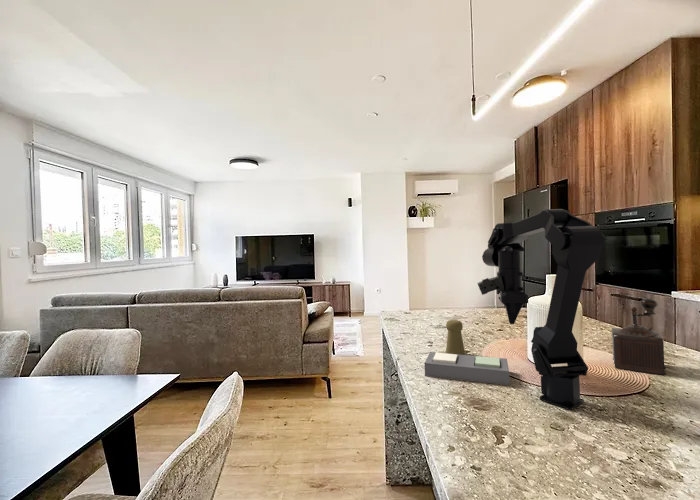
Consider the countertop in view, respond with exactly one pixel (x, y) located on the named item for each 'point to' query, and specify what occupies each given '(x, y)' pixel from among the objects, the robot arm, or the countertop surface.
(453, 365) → the key panel
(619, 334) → the brown manual coffee grinder
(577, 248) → the robot arm
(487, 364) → the sage key
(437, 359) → the cream key
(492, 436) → the countertop surface
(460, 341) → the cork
